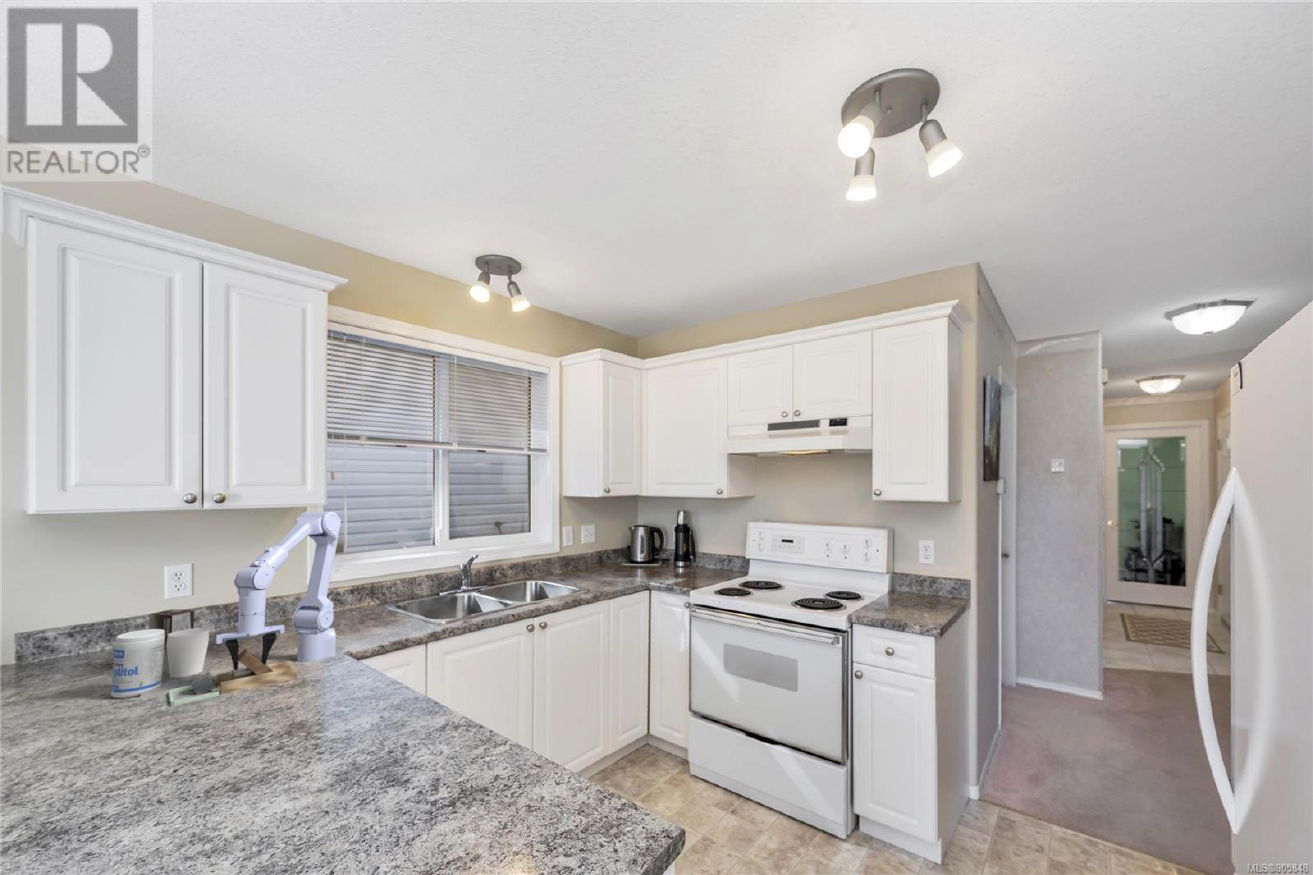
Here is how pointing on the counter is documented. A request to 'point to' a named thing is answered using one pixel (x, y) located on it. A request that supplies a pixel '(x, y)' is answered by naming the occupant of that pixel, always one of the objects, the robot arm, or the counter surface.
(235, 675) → the grey cube
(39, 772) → the counter surface
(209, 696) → the tray
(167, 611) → the coffee box
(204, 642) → the cup
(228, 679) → the slot board
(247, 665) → the brown wooden block
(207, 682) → the dark grey cube
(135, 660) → the supplement tub
